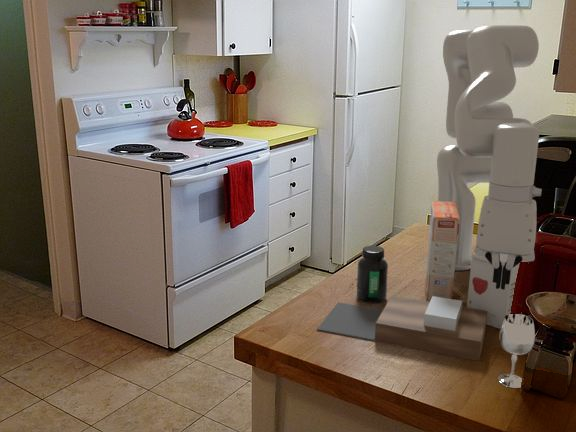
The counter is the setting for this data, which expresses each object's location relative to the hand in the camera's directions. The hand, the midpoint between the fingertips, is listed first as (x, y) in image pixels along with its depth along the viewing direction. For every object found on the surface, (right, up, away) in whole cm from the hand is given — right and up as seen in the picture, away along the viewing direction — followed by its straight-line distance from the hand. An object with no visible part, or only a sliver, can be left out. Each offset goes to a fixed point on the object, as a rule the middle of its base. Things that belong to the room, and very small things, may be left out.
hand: (500, 286), depth 116 cm
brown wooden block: (-11, -11, +9) cm, 18 cm away
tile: (-9, -7, +7) cm, 13 cm away
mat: (-26, -9, +15) cm, 31 cm away
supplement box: (+4, -9, +16) cm, 19 cm away
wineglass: (-1, -16, -8) cm, 18 cm away
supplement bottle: (-21, -6, +26) cm, 34 cm away
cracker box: (-5, -5, +28) cm, 29 cm away
